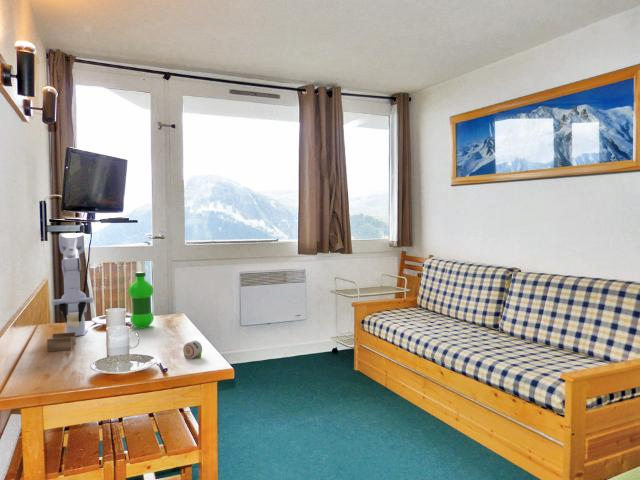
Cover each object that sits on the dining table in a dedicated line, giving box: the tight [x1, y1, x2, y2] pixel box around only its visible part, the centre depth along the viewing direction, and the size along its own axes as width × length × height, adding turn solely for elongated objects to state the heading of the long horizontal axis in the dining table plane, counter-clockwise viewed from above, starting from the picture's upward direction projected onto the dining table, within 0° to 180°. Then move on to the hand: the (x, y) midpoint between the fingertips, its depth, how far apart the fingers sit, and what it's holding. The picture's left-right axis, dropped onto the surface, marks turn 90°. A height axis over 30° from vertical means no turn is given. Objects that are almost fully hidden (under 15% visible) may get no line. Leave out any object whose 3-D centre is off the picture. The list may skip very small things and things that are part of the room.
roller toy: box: [182, 340, 203, 360], centre depth 173 cm, size 4×6×6 cm
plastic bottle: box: [128, 271, 154, 329], centre depth 225 cm, size 10×10×25 cm
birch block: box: [67, 313, 80, 328], centre depth 195 cm, size 4×4×5 cm
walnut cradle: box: [46, 332, 77, 352], centre depth 191 cm, size 10×8×4 cm
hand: (73, 321), depth 195 cm, fingers closed on birch block, 4 cm apart
